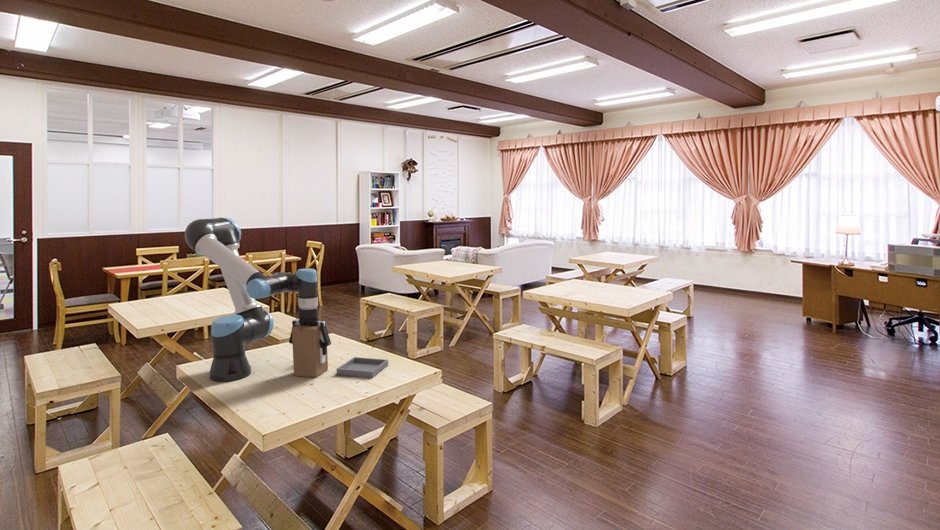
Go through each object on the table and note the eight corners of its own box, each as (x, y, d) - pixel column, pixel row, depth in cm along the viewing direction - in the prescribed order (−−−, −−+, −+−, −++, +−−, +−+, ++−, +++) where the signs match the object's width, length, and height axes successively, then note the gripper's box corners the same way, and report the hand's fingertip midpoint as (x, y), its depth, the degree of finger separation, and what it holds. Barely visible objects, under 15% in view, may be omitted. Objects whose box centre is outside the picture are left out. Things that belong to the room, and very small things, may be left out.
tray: (336, 374, 207) (336, 368, 206) (354, 362, 222) (354, 357, 221) (372, 378, 203) (372, 371, 203) (388, 365, 218) (388, 359, 218)
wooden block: (316, 378, 203) (314, 328, 201) (293, 376, 205) (291, 327, 203) (328, 369, 213) (326, 322, 210) (306, 368, 215) (304, 321, 212)
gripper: (277, 308, 205) (280, 362, 208) (329, 311, 199) (331, 366, 202) (288, 304, 212) (291, 356, 215) (338, 307, 206) (340, 360, 209)
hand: (310, 361), depth 208 cm, fingers closed on wooden block, 10 cm apart
